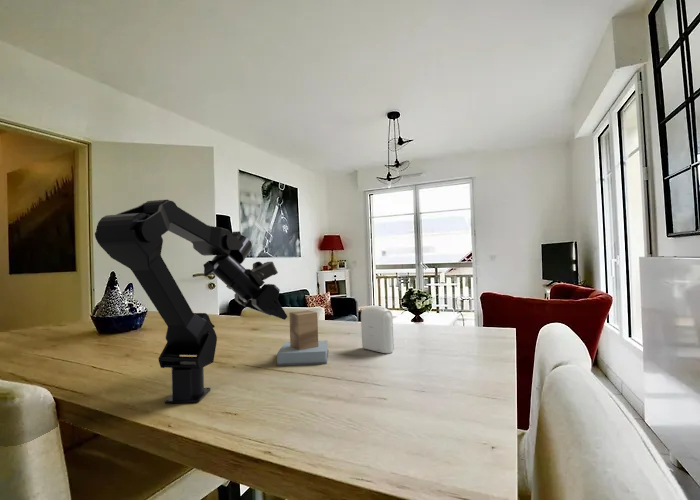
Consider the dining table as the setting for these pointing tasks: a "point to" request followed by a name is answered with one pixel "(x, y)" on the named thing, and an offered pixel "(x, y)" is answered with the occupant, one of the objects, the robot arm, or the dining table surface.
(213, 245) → the robot arm
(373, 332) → the photo printer
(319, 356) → the plinth
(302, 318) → the walnut block
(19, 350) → the dining table surface
